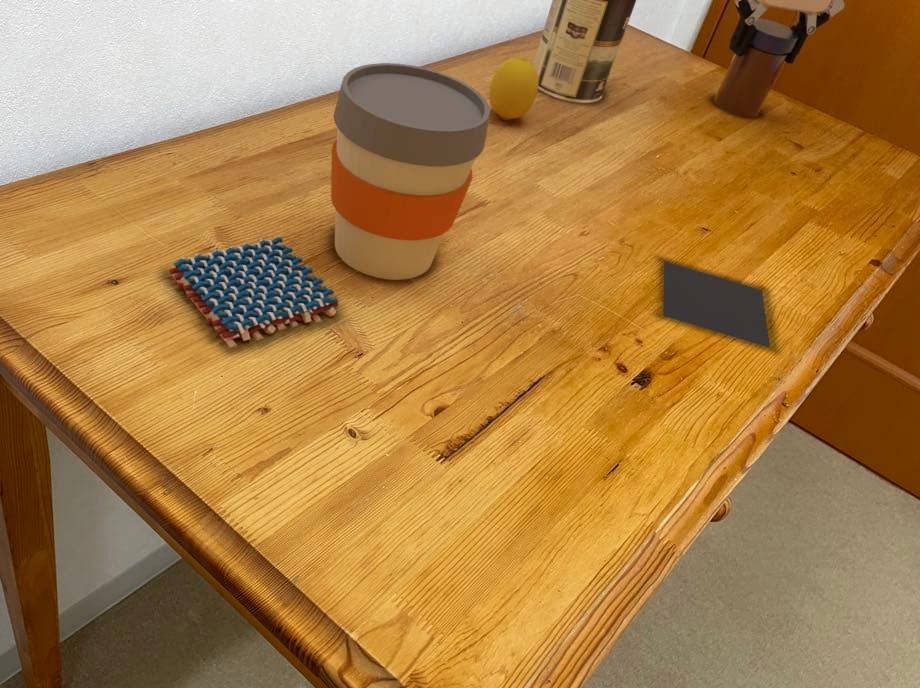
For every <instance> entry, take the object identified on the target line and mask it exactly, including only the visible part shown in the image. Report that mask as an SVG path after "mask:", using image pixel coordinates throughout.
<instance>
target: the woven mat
mask: <svg viewBox="0 0 920 688" xmlns="http://www.w3.org/2000/svg"><path fill="white" fill-rule="evenodd" d="M283 241H284V239H283V238H282V237H280V236H279V237H275V238H274V239H268V240H265V239H263V238H260V239H259V242H252V244H248V243H246V242H242V245H243V246H241V245H240V246H239V245H238V246H235V248H234V247H232V246H228V248H227V249H219V250H217V249H216V248H215V249H212V253H211V252H207V253H205V255H202V254H199V253H195V257H194V256H191V257H190V256H189V257H187V258H186V259H185V257H181V258H180V259H178V260H177V261H175V262H174V263H173V266H174V268H173V267H172V268H170V269H169V274H170V275H171V276H172V278H173V279H174V282H176V287H177V288H178V289H181V290H183V291H185V292H184V293H185V295H186V296H187V298H188V299H189V300H191V302H192V303H193V304H194V305H195V307H196V308H197V309H198V310H199V312H200V313H201V314H202V316H204V317H205V319H206V320H205V322H206V323H207V324H208V325H210V326H211V325H212V326H213V329H214V330H215V331H216V333H217V334H218V335H219V337H220V338H221V339H222V340H223V341H224V342H225V343H226V345H227V346H228V347H229V349H232V348H236V347H238V344H237V343H236V341H235V340H234V339H237V338H238V339H240V340H242V341H243V342H245V341H248V340H251V336H252V337H253V338H254V339H255V340H256V341H260V340H262V339H264V336H263V335H262V333H261V332H260V330H262V331H263V332H264V333H266V334H269V335H272V334H273V333H274V332H275V331H276V330H278V331H279V332H280V331H283V330H286V329H287V326H286V325H287V324H288V325H289V326H290V327H291V328H293V327H294V328H295V327H298V326H299V323H298V322H297V321H299V322H302V323H303V322H304V323H303V324H307V323H310V322H312V319H313V320H314V321H315V322H316V323H320V322H323V319H322V318H321V317H320V316H319V313H323V314H324V315H326V316H328V317H330V318H332V317H333V316H334V315H335V314H336V313H337V311H336V309H335V308H337V307H338V306H339V300H338V298H337V297H333V298H332V297H329V296H331V295H334V293H335V291H334V290H333V289H332V288H330V289H328V288H327V287H326V286H322V285H323V284H324V280H323V279H322V277H321V278H317V277H316V275H313V276H311V275H309V274H312V273H313V272H314V269H313V268H312V267H306V265H299V263H300V264H301V263H302V262H303V261H304V259H303V258H302V257H297V256H296V255H295V254H294V255H292V254H291V253H293V251H294V249H293V247H287V246H286V245H285V244H284V245H279V243H283ZM297 264H298V265H297Z"/></svg>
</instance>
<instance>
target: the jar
mask: <svg viewBox="0 0 920 688" xmlns="http://www.w3.org/2000/svg"><path fill="white" fill-rule="evenodd" d="M787 56H788V53H775V52H771V51H767V50H764V49H761V48H758V47H756V46H754V45H752V44H750V43H749V45H748V47H747V49H746V51H745V53H744V55H743V56H737V55H736V54H735V53H734V55H733V57H732V59H731V61H730V63H729V66H728V67H727V70H726V72H725V74H724V76H723V78H722V81H721V83H720V86H719V87H718V89H717V92H716V94H715V96H714V98H713V103H714V104H715V106H717V107H718V108H720V109H721V110H722V111H725V112H726V113H729V114H731V115H735V116H738V117H741V118H750V119H751V118H756V117H757V116H759V114H760V112H761V110H762V108H763V105H764V104H765V102H766V100H767V98H768V95H769V94H770V92H771V90H772V88H773V86H774V84H775V82H776V80H777V77H778V75H779V73H780V72H781V70H782V67H783V66H784V64H785V63H786V61H785V60H786V58H787Z"/></svg>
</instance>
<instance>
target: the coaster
mask: <svg viewBox="0 0 920 688" xmlns="http://www.w3.org/2000/svg"><path fill="white" fill-rule="evenodd" d="M662 306H663V307H662V315H663V317H666V318H669V319H673V320H674V321H675V320H676V321H679V322H682V323H685V324H688V325H693V326H695V327H699V328H702V329H705V330H708V331H712V332H715V333H719V334H721V335H725V336H729V337H732V338H736V339H739V340H742V341H745V342H748V343H752V344H754V345H755V344H756V345H759V346H762V347H765V348H768V349H769V348H770V349H771V344H770V337H769V330H768V322H767V316H766V309H765V308H766V307H765V303H764V293H763V290H762V289H760V288H756V287H753V286H750V285H746V284H744V283H740V282H737V281H733V280H730V279H727V278H723V277H720V276H716V275H713V274H710V273H706V272H702V271H699V270H696V269H692V268H690V267H686V266H682V265H679V264H675V263H672V262H669V261H666V260H665V261H663V304H662Z"/></svg>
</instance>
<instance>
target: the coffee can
mask: <svg viewBox="0 0 920 688" xmlns="http://www.w3.org/2000/svg"><path fill="white" fill-rule="evenodd" d="M636 3H637V0H552V1H551V4H550V7H549V10H548V15H547V18H546V21H545V24H544V28H543V31H542V35H541V38H540V41H539V44H538V49H537V50H536V51H537V52H536V55H535V59H534V61H533V65H534V67H535V68H536V70H537V73H538V90H539V91H541V92H542V93H545V94H547V95H549V96H552V97H554V98H557V99H560V100H563V101H567V102H573V103H580V104H590V103H595V102H598V101H600V100H601V99H602V98H603V94H604V90H605V88H606V86H607V82H608V80H609V76H610V74H611V71H612V68H613V66H614V63H615V60H616V58H617V55H618V52H619V49H620V47H621V43H622V41H623V38H624V36H625V32H626V30H627V27H628V24H629V22H630V19H631V16H632V13H633V11H634V8H635V6H636Z"/></svg>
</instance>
